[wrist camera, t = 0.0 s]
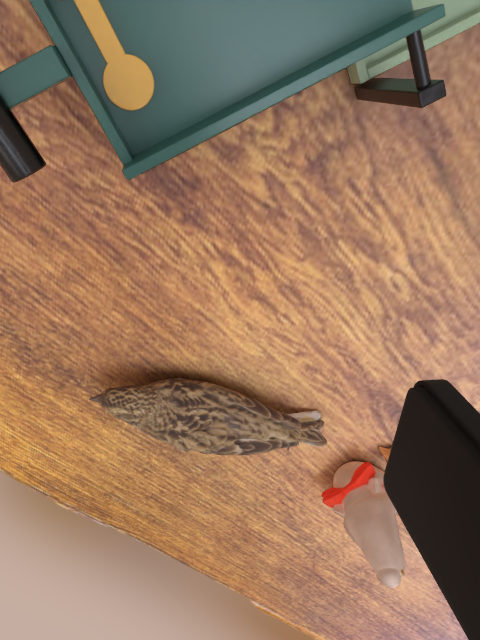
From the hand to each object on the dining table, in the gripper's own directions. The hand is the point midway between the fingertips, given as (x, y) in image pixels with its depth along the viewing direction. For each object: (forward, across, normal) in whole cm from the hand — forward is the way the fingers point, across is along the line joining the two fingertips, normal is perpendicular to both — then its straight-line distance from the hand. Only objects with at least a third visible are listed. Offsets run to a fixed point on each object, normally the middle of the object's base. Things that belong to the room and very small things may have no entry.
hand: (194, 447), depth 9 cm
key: (+16, +3, -8) cm, 18 cm away
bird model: (+24, -4, +18) cm, 31 cm away
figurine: (+24, -19, +28) cm, 42 cm away
